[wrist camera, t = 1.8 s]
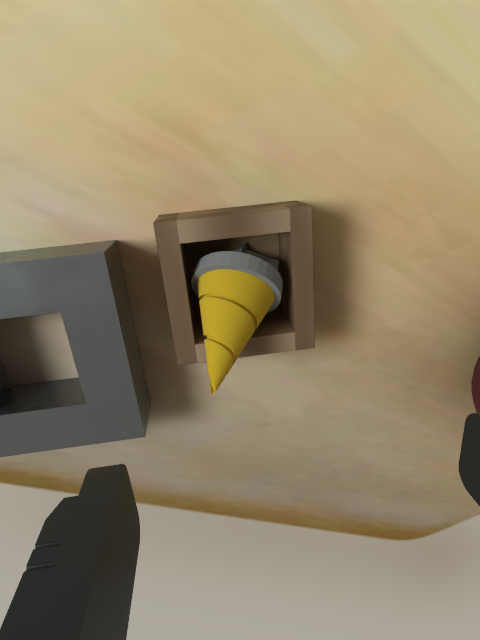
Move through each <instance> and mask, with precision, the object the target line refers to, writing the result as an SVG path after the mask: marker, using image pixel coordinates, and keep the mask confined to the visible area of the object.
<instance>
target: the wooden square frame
mask: <svg viewBox="0 0 480 640" xmlns="http://www.w3.org/2000/svg"><path fill="white" fill-rule="evenodd" d="M153 224H154V230H155V236H156V242H157V248H158V254H159V259H160V265H161V271H162V277H163V283H164V289H165V295H166V300H167V306H168V312H169V318H170V324H171V330H172V336H173V341H174V347H175V353H176V359H177V365H185V364H193V363H200V362H207V358H206V350H205V343H204V339H207V337H205V336H204V335H203V327H202V322H197V323H195V319H194V312H193V305H192V298H191V291H190V284H189V277H188V270H187V264H186V257H185V250H184V243H190V242H199V241H209V240H218V239H227V238H236V237H245V236H254V235H263V234H272V233H279V248H280V267H281V277H282V280H283V290H282V305H283V312H279V313H271V314H266V315H265V316H264V318H263V319H262V321H261V323H260V324H259V326H258V327H257V329H256V330H255V332H254V333H253V335H252V336H251V338H250V339H249V341H248V343H247V344H246V346H245V347H244V349H243V350H242V352H241V353H240V355H239V356H238V358H239V357H247V356H254V355H262V354H270V353H278V352H285V351H293V350H301V349H309V348H315V334H314V286H313V238H312V206H310V205H307V204H304V203H301V202H299V201H289V202H279V203H270V204H260V205H251V206H241V207H232V208H222V209H213V210H203V211H194V212H184V213H175V214H165V215H159V216H158V217H157V219H156V220H155V222H154V223H153Z"/></svg>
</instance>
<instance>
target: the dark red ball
mask: <svg viewBox="0 0 480 640" xmlns="http://www.w3.org/2000/svg"><path fill="white" fill-rule="evenodd" d="M472 396H473V401H474V405H475V408H476V411H477V413H479V412H480V357H479V358H478V360H477V363H476V365H475V368H474V373H473V378H472Z"/></svg>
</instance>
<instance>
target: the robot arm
mask: <svg viewBox="0 0 480 640" xmlns="http://www.w3.org/2000/svg"><path fill="white" fill-rule="evenodd" d="M459 473H460V477H461V480H462V482H463V485H464V486H465V488H466V490H467V491H468V493H469V494H470V495H471V496H472V498H473V499H474V500H475V501H476V502H477V503H478V505H479V506H480V412H479V413H473V414H470V415H468V417H467V418H466V421H465V427H464V433H463V440H462V446H461V453H460V459H459ZM139 543H140V523H139V515H138V511H137V506H136V503H135V499H134V495H133V491H132V487H131V483H130V479H129V475H128V471H127V468H126V466H125V465H124V464H119V465H112V466H105V467H99V468H92V469H89V470H88V471H87V473H86V476H85V479H84V481H83V484H82V487H81V490H80V493H79V496H74V497H67V498H64V499H63V500H62V501H61V502H60V503H59V504H58V506H57V507H56V508H55V509H54V510H53V512H52V513H51V514H50V515H49V516H48V518H47V519H46V520H45V523H44V525H43V527H42V530H41V532H40V534H39V537H38V539H37V542H36V544H35V545H36V547H35V550H33V551H32V554H31V556H30V559H29V561H28V563H27V570H26V571H25V572H24V573H23V575H22V578H21V580H20V583H19V585H18V588H17V590H16V592H15V595H14V597H13V600H12V602H11V604H10V607H9V609H8V612H7V615H6V616H5V619H4V621H3V624H2V626H1V629H0V640H126V636H127V628H128V621H129V614H130V607H131V600H132V593H133V586H134V579H135V571H136V565H137V557H138V550H139Z"/></svg>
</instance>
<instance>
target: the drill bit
mask: <svg viewBox="0 0 480 640" xmlns="http://www.w3.org/2000/svg"><path fill="white" fill-rule="evenodd" d="M278 265H279V260H276V259H273V258H270V257H267V256H264V255H261V254H258V253H255V252H252V251H249V250H247V243H245V244H243V245H241V246H239V247H237V248H235V249H233V250H232V251H220V252H214V253H211V254H207V255H206V256H204V257H202V258H201V259H200V260H199V261H198V262H197V264H196V266H195V269H194V273H193V276H192V280H191V285H192V289H193V290H194V292H195V294H196V295H197V296H198V297H199V303H200V311H201V319H202V327H203V335H204V336H205V337H207V339H204V343H205V350H206V358H207V366H208V374H209V377H210V378H211V379H210V390H211V394H214V393H215V392H216V390H217V389H218V387H219V386H220V384H221V383H222V381H223V380H224V378H225V376H226V375H227V373H228V372H229V370H230V369H231V367H232V366H233V364H234V363H235V361H236V360H237V358H238V356H239V355H240V353H241V352H242V350H243V349H244V347H245V346H246V344H247V343H248V341H249V339H250V338H251V336H252V335H253V333H254V332H255V330H256V329H257V327H258V326H259V324H260V323H261V321H262V319H263V318H264V316H265V315H266V313H268V312H270V311H272V310H274V309H275V308H276V307H277V306H278V305H279V303H280V301H281V296H282V290H283V280H282V277H281V275H280V274H279V272H278V271H277V270H278Z"/></svg>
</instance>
